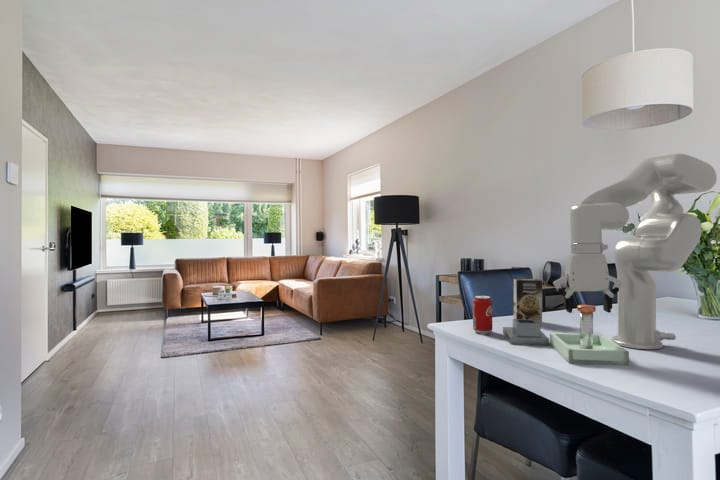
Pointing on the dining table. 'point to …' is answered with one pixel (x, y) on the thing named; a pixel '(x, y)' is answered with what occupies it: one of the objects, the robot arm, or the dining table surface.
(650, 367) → the dining table surface
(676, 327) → the dining table surface
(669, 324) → the dining table surface
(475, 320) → the beverage can
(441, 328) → the dining table surface
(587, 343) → the lock pin
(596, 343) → the tray
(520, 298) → the coffee box
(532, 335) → the bracket
